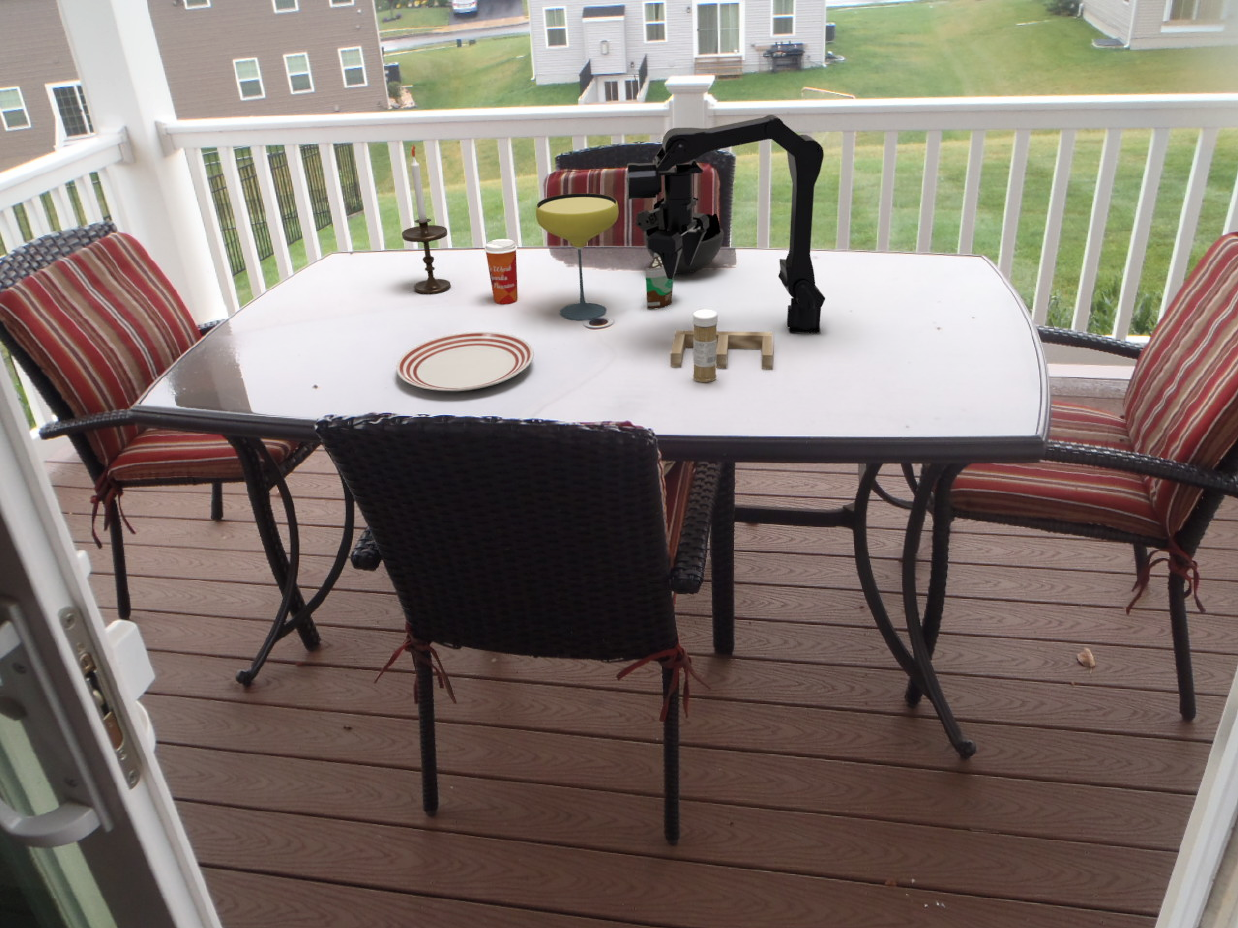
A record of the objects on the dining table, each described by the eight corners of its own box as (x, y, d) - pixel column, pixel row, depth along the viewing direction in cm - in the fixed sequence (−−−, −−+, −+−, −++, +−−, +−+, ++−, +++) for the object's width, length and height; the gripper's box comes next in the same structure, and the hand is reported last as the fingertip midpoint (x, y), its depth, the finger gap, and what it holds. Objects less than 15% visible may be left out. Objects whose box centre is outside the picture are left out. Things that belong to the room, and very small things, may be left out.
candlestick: (461, 289, 231) (443, 143, 213) (421, 298, 226) (399, 150, 208) (443, 278, 239) (423, 137, 221) (403, 287, 234) (381, 143, 216)
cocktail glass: (548, 299, 222) (539, 194, 210) (623, 297, 221) (619, 191, 209) (540, 327, 206) (530, 215, 194) (621, 325, 206) (616, 213, 193)
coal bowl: (682, 254, 249) (682, 183, 239) (739, 270, 236) (741, 195, 226) (628, 272, 237) (626, 198, 228) (684, 289, 224) (684, 212, 215)
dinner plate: (476, 413, 171) (474, 397, 169) (369, 384, 184) (366, 369, 182) (561, 360, 191) (560, 345, 189) (459, 337, 204) (457, 323, 202)
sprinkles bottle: (710, 372, 182) (711, 307, 176) (720, 380, 178) (721, 315, 172) (688, 376, 181) (689, 311, 174) (698, 385, 177) (699, 318, 170)
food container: (672, 312, 212) (672, 270, 207) (646, 311, 213) (645, 269, 208) (680, 294, 222) (680, 253, 217) (655, 293, 223) (654, 252, 218)
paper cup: (484, 304, 221) (477, 246, 214) (499, 293, 227) (493, 237, 220) (513, 307, 218) (507, 249, 211) (528, 296, 224) (522, 239, 217)
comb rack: (771, 345, 192) (772, 332, 191) (772, 369, 182) (772, 355, 181) (675, 343, 195) (675, 330, 194) (670, 367, 185) (670, 353, 183)
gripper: (660, 182, 194) (662, 255, 202) (621, 204, 180) (624, 282, 188) (710, 186, 190) (709, 260, 198) (674, 209, 176) (674, 288, 183)
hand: (679, 272), depth 192 cm, fingers open, 9 cm apart
